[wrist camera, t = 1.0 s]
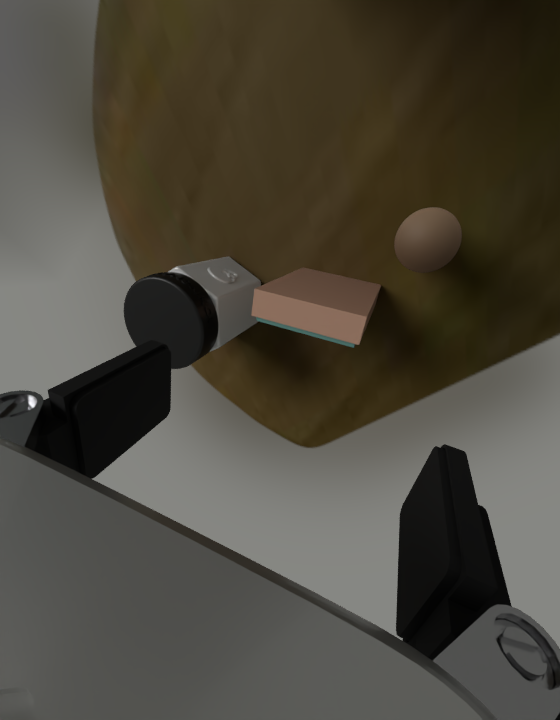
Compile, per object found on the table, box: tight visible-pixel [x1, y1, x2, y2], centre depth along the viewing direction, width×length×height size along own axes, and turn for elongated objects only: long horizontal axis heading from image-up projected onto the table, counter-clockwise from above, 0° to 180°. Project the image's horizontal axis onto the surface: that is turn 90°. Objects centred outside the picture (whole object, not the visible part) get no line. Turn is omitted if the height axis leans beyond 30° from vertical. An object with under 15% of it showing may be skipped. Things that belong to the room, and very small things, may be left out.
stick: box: [394, 207, 462, 273], centre depth 23 cm, size 3×3×12 cm
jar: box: [124, 257, 261, 369], centre depth 32 cm, size 9×8×12 cm
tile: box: [251, 268, 381, 348], centre depth 27 cm, size 2×8×12 cm, turn 81°
